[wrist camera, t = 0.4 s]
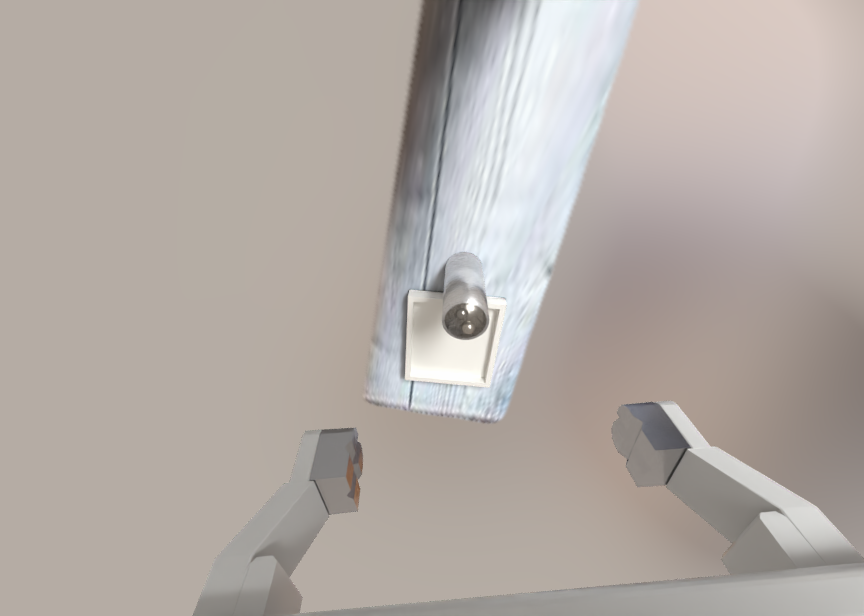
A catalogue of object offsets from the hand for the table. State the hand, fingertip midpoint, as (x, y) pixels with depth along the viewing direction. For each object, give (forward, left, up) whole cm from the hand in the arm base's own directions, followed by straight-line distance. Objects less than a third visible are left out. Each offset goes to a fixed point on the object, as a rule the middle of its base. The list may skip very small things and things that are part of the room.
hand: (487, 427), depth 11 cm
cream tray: (+25, +1, -38) cm, 46 cm away
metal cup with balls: (+13, +1, -38) cm, 41 cm away
